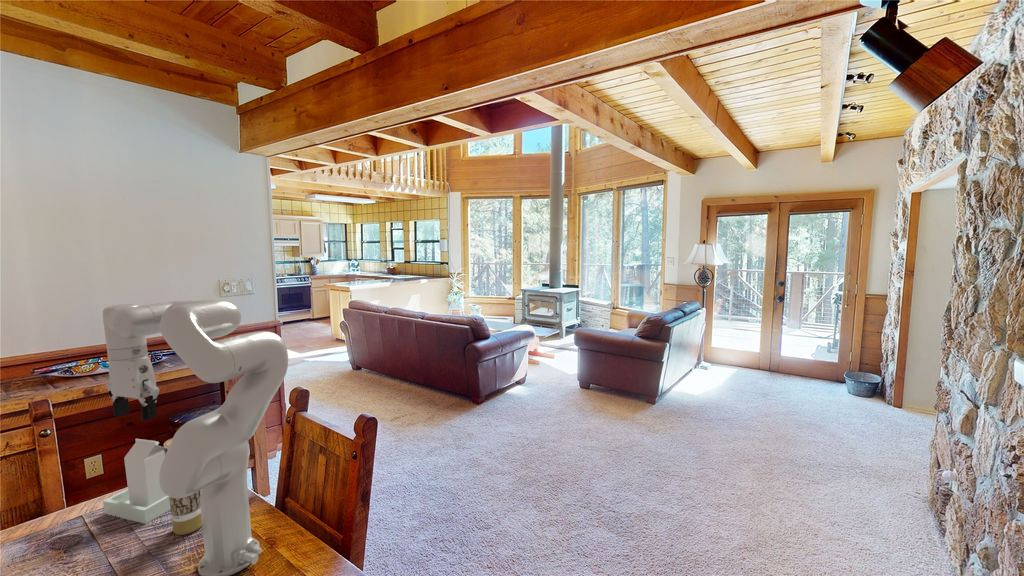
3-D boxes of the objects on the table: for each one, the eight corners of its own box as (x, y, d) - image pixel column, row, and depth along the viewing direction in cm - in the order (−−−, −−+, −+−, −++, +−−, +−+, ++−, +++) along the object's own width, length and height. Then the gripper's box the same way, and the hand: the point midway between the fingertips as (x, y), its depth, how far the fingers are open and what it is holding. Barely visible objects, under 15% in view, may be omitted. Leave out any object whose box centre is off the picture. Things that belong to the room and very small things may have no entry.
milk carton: (149, 510, 121) (142, 447, 119) (129, 506, 123) (122, 444, 120) (173, 495, 128) (167, 435, 126) (155, 492, 130) (148, 433, 127)
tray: (195, 494, 130) (194, 482, 130) (146, 523, 117) (144, 510, 116) (157, 486, 135) (155, 474, 134) (104, 513, 121) (103, 500, 121)
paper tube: (184, 538, 111) (175, 448, 108) (167, 533, 113) (157, 444, 110) (210, 522, 118) (202, 436, 114) (193, 517, 120) (184, 433, 117)
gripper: (168, 351, 109) (175, 414, 111) (120, 347, 114) (128, 408, 116) (136, 359, 102) (144, 427, 104) (86, 354, 107) (95, 419, 109)
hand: (135, 417), depth 110 cm, fingers open, 9 cm apart
